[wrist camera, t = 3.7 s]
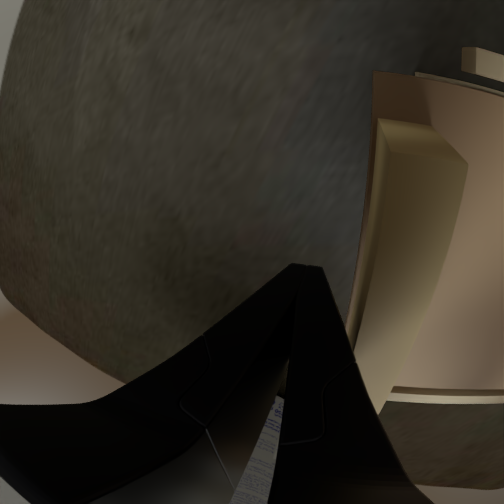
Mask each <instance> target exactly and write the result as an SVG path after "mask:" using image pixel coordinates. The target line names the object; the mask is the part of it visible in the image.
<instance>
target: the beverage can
mask: <svg viewBox="0 0 504 504" xmlns="http://www.w3.org/2000/svg"><path fill="white" fill-rule="evenodd" d="M283 406H284V399H283V398H281V397H279V396H277V395H276V398H275V400H274V403H273V405H272V408H271V410H270V413H269V415H268V418H267V420H266V422H265V425H264V427H263V430H262V432H261V434H260V437H259V439H258V441H257V444H256V446H255V448H254V451H253V453H252V455H251V457H250V460H249V462H248V464H247V466H246V469H245V471H244V473H243V475H242V477H241V479H240V482H239V484H238V486H237V488H236V490H235V492H234V495H233V497H232V499H231V501H230V503H229V504H267V501H268V497H269V492H270V488H271V483H272V478H273V473H274V468H275V462H276V456H277V450H278V442H279V435H280V428H281V421H282V413H283Z"/></svg>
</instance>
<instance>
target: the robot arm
mask: <svg viewBox="0 0 504 504" xmlns="http://www.w3.org/2000/svg"><path fill="white" fill-rule="evenodd" d="M288 364H289V365H288ZM287 367H288V374H287V382H286V390H285V398H284V406H283V413H282V421H281V428H280V435H279V442H278V450H277V456H276V462H275V468H274V473H273V478H272V483H271V488H270V492H269V497H268V501H267V504H434V503H433V502H432V501H431V500H430V499H429V498H427V497H426V496H425V495H424V494H423V493H422V492H421V491H420V490H419V489H418V488H417V487H416V486H415V485H414V483H413V482H412V481H411V480H410V478H409V477H408V475H407V473H406V472H405V470H404V468H403V466H402V464H401V462H400V460H399V458H398V456H397V454H396V452H395V450H394V448H393V445H392V443H391V441H390V439H389V437H388V435H387V433H386V431H385V429H384V427H383V425H382V423H381V421H380V419H379V416H378V414H377V412H376V410H375V408H374V405H373V403H372V401H371V399H370V397H369V394H368V392H367V389H366V386H365V383H364V381H363V378H362V375H361V372H360V369H359V366H358V364H357V363H356V358H355V355H354V352H353V349H352V346H351V344H350V341H349V338H348V335H347V332H346V329H345V327H344V324H343V321H342V318H341V315H340V313H339V310H338V307H337V305H336V302H335V299H334V296H333V294H332V291H331V288H330V286H329V283H328V281H327V278H326V275H325V273H324V270H323V268H322V267H320V266H312V265H307V266H306V265H304V264H296V263H291V264H289V265H288V266H287V267H286V268H285V269H283V270H282V271H281V272H280V273H278V274H277V275H276V276H275V277H274V278H272V279H271V280H270V281H269V282H267V283H266V284H265V285H264V286H262V287H261V288H260V289H259V290H257V291H256V292H255V293H254V294H252V295H251V296H250V297H249V298H248V299H246V300H245V301H244V302H242V303H241V304H240V305H239V306H237V307H236V308H235V309H234V310H232V311H231V312H230V313H229V314H227V315H226V316H225V317H224V318H222V319H221V320H220V321H218V322H217V323H216V324H215V325H213V326H212V327H211V328H210V329H208V330H207V331H206V332H204V333H203V336H199V337H198V338H196V339H195V340H194V341H193V342H191V343H190V344H189V345H187V346H186V347H185V348H183V349H182V350H180V351H179V352H178V353H176V354H175V355H173V356H172V357H170V358H169V359H167V360H166V361H164V362H163V363H161V364H159V365H158V366H156V367H155V368H153V369H151V370H150V371H148V372H146V373H145V374H143V375H141V376H139V377H138V378H136V379H134V380H133V381H131V382H129V383H127V384H126V385H124V386H122V387H121V388H119V389H117V390H115V391H114V392H112V393H110V394H108V395H106V396H104V397H102V398H99V399H97V400H94V401H91V402H86V403H80V404H59V405H9V404H0V504H229V503H230V501H231V499H232V497H233V495H234V492H235V490H236V488H237V486H238V484H239V482H240V479H241V477H242V475H243V473H244V471H245V469H246V466H247V464H248V462H249V460H250V457H251V455H252V453H253V451H254V448H255V446H256V444H257V441H258V439H259V437H260V434H261V432H262V430H263V427H264V425H265V422H266V420H267V418H268V415H269V413H270V410H271V408H272V405H273V403H274V400H275V398H276V395H277V393H278V390H279V388H280V385H281V383H282V380H283V378H284V375H285V372H286V370H287Z"/></svg>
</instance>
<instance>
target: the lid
mask: <svg viewBox="0 0 504 504" xmlns="http://www.w3.org/2000/svg"><path fill="white" fill-rule="evenodd" d="M345 329H346V332H347V335H348V338H349V341H350V344H351V346H352V349H353V352H354V355H355V358H356V363H357V364H358V366H359V369H360V372H361V375H362V378H363V381H364V383H365V386H366V389H367V392H368V394H369V397H370V399H371V401H372V403H373V405H374V408H375V410H376V412H377V414H379V412H380V411H381V409H382V407H383V405H384V403H385V401H386V400H387V398H388V396H389V394H390V392H391V390H392V388H393V386H404V387H418V388H437V389H479V390H484V389H504V97H503V96H499V95H496V94H492V93H489V92H485V91H482V90H478V89H474V88H470V87H466V86H462V85H457V84H453V83H448V82H444V81H439V80H433V79H428V78H423V77H417V76H411V75H404V74H397V73H390V72H382V71H373V79H372V113H371V132H370V147H369V160H368V172H367V183H366V193H365V202H364V210H363V219H362V226H361V234H360V241H359V248H358V255H357V261H356V268H355V274H354V280H353V285H352V291H351V297H350V302H349V307H348V313H347V318H346V323H345Z"/></svg>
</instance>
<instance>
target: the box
mask: <svg viewBox="0 0 504 504" xmlns="http://www.w3.org/2000/svg"><path fill="white" fill-rule="evenodd" d="M461 71H464V72H468V73H471V74H475V75H479V76H483V77H486V78H490V79H493V80H496V81H500V82H503V83H504V56H503V55H501V54H497V53H494V52H491V51H488V50H485V49H481V48H478V47H462V64H461ZM415 76H417V77H423V78H428V79H433V80H439V81H444V82H448V83H453V84H457V85H462V86H466V87H470V88H474V89H478V90H482V91H485V92H489V93H492V94H496V95H499V96H503V97H504V92H501V91H497V90H494V89H491V88H487V87H483V86H480V85H476V84H472V83H468V82H464V81H460V80H455V79H451V78H446V77H442V76H437V75H431V74H426V73H420V72H415ZM387 400H388V401H401V402H417V403H443V404H489V403H504V389H484V390H479V389H437V388H418V387H404V386H393V388H392V390H391V392H390V394H389V396H388V398H387Z"/></svg>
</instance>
